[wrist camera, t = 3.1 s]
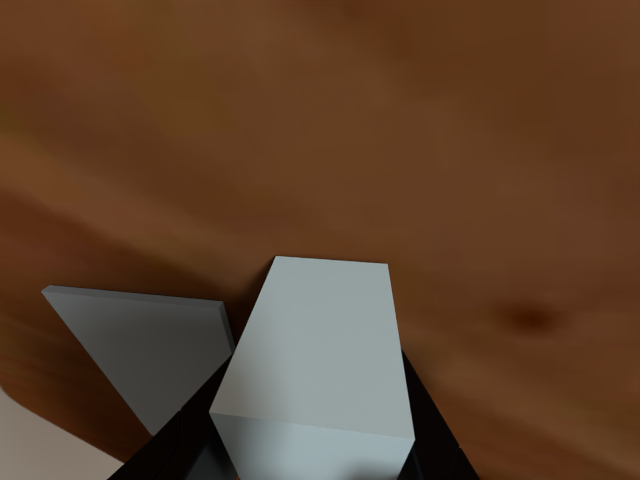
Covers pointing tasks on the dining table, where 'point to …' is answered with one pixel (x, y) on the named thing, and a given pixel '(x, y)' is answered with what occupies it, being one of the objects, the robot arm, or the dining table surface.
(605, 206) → the dining table surface
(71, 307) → the mat
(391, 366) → the pale blue long box
